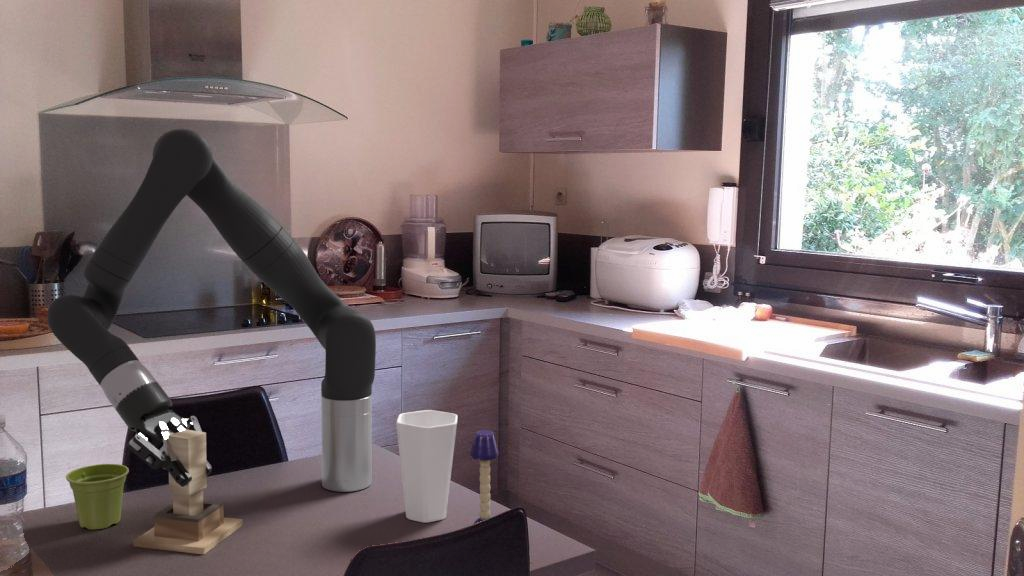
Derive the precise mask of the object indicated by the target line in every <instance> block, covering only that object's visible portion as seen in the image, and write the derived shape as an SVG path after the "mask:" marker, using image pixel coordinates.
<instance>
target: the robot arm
mask: <svg viewBox="0 0 1024 576" xmlns="http://www.w3.org/2000/svg"><path fill="white" fill-rule="evenodd" d="M186 196H187V197H188V198H189V199H190V200H191V201H192V202H193V203H194V204H196V205H197V206H198V207H199V209H201V210H202V212H204V214H205V216H207V218H209V220H210V222H211V223H212V224H213V226H214V227H215V229H216V231H218V233H219V234H220V236H221V237H222V238H223V239H224V241H225V242H226V243H227V245H228V246H229V247H230V249H232V251H233V252H234V253H235V254H236V256H237V257H238V259H239V260H241V261H242V263H244V265H245V266H246V267H247V268H248V269H249V270H250V271H251V272H252V273H253V274H254V275H255V276H256V277H257V278H258V279H259V280H260V281H261V282H262V283H263V284H265V286H266V287H268V288H269V289H270V290H271V291H272V292H273V293H274V294H276V295H277V296H278V297H280V299H282V300H283V301H285V302H286V303H287V304H288V305H289V306H290V307H291V308H293V310H294V311H295V312H296V313H297V314H298V316H299V317H300V318H301V319H302V320H303V322H304V323H305V324H306V326H307V327H308V328H309V329H310V331H311V332H312V333H313V336H315V338H316V339H317V341H318V342H319V343H320V345H321V346H322V347H323V349H324V350H325V366H324V367H325V370H324V371H325V372H324V377H323V379H322V381H321V383H320V384H321V388H320V391H321V393H320V394H321V395H320V397H321V398H320V400H321V401H320V402H321V406H320V408H321V409H320V410H321V487H323V488H324V489H326V490H329V491H333V492H341V493H342V492H344V493H345V492H356V491H360V490H364V489H366V488H368V487H370V486H371V485H372V481H373V480H372V464H373V463H372V459H373V457H372V455H373V454H372V453H373V452H372V451H373V450H372V447H373V445H372V444H373V443H372V442H373V441H372V440H373V439H372V433H373V432H372V427H373V425H372V422H373V420H372V419H373V417H372V416H373V415H372V413H373V411H372V409H373V408H372V406H373V405H372V404H373V402H372V400H373V399H372V397H373V396H372V394H373V393H372V391H373V390H372V389H373V388H372V387H373V384H374V382H375V381H374V380H375V376H376V354H377V352H376V351H377V349H376V347H377V344H376V342H377V339H376V338H377V337H376V331H375V328H374V325H373V323H372V321H371V320H370V318H368V317H367V316H366V315H365V314H362V313H361V312H359V311H357V310H356V309H354V308H352V307H351V306H349V305H348V304H347V303H346V302H345V301H343V299H341V297H339V296H338V295H337V294H336V293H335V292H334V291H333V290H332V289H330V287H329V286H328V285H327V284H326V283H325V282H324V281H323V279H322V278H321V277H320V276H319V274H318V272H317V270H316V268H315V267H314V265H313V264H312V263H311V260H310V259H309V258H308V256H307V255H306V253H305V251H304V250H303V248H301V246H300V245H299V243H298V242H297V241H296V240H295V239H294V238H293V237H292V235H291V234H290V233H289V232H288V231H287V230H286V229H285V227H284V226H282V224H281V223H280V222H279V221H278V220H277V219H276V218H275V217H274V216H273V215H272V214H270V213H269V212H268V211H267V209H265V208H264V207H263V206H261V204H260V203H258V202H257V201H256V200H254V199H253V198H252V197H251V196H250V195H249V194H247V193H246V192H245V191H244V190H243V189H242V188H241V187H239V186H238V185H237V184H236V183H235V181H233V179H232V178H231V177H230V176H229V175H228V173H227V172H226V171H225V169H224V168H223V167H222V165H221V164H220V163H219V162H218V160H217V158H216V157H215V155H214V154H213V152H212V148H211V145H210V144H209V142H208V141H207V140H206V138H204V136H203V135H201V134H200V133H198V132H196V131H194V130H193V129H192V130H191V129H188V128H187V129H186V128H176V129H171V130H168V131H166V132H164V133H163V134H162V135H160V136H159V137H158V138H157V141H156V142H155V143H154V146H153V150H152V159H151V162H150V165H149V167H148V169H147V171H146V174H145V176H144V178H143V181H142V182H141V184H140V187H139V188H138V190H137V191H136V193H135V195H134V196H133V198H132V199H131V201H130V202H129V204H128V205H127V207H126V208H125V209H124V210H123V212H122V213H121V214H120V216H119V217H118V218H117V219H116V221H115V222H114V223H113V224H112V226H111V227H110V229H109V230H108V231H107V233H105V236H104V237H103V239H102V240H101V242H100V243H99V244H98V247H97V248H96V249H95V251H94V252H93V254H92V256H91V257H90V259H89V260H88V262H87V263H86V265H85V266H84V270H83V276H84V279H85V281H87V282H88V284H87V285H86V289H85V291H84V294H83V295H82V296H81V295H75V294H65V295H64V294H63V295H61V296H58V297H57V298H55V299H54V300H53V301H52V302H51V303H50V305H49V306H48V309H47V314H46V320H47V323H48V326H49V329H50V331H51V333H53V335H54V336H55V338H56V339H57V340H58V341H59V342H60V343H61V344H62V345H63V346H64V347H65V348H66V349H67V350H68V351H69V352H70V353H71V354H72V355H73V356H75V357H76V358H77V359H78V360H79V361H80V362H82V363H83V364H84V365H85V366H86V368H87V369H88V371H89V373H90V374H91V375H92V377H93V378H94V379H95V381H96V382H97V384H98V386H100V388H101V389H102V391H103V394H104V395H105V397H106V399H107V401H109V403H110V404H111V406H112V407H113V408H114V410H115V411H116V413H117V414H118V415H119V417H120V418H121V419H122V421H123V422H124V424H125V425H126V426H127V428H128V430H130V431H132V432H135V435H134V436H133V437H132V439H130V440H129V442H128V443H127V444H126V448H127V449H128V450H130V451H131V453H133V454H134V455H136V456H137V457H138V458H139V459H140V460H142V461H143V462H144V463H145V464H147V466H149V467H150V468H151V469H152V470H154V471H156V470H158V469H163V470H166V471H168V474H169V473H170V474H171V476H172V477H173V478H174V480H175V481H176V482H177V483H178V484H180V486H181V487H184V486H186V485H187V484H188V483H189V482H190V481H191V480H192V476H191V475H190V474H189V473H188V471H187V470H186V469H185V467H184V466H183V465H182V463H181V462H180V461H179V460H178V461H176V460H177V456H176V454H175V453H174V452H173V450H172V445H171V443H170V442H169V440H168V436H169V435H172V434H174V433H177V432H180V431H183V430H186V429H187V430H193V431H199V432H203V431H202V428H201V425H200V423H199V420H198V418H197V416H195V415H190V417H188V418H182V417H181V416H180V415H178V414H177V413H176V412H175V411H174V409H173V401H172V400H171V398H170V397H169V396H168V394H167V392H166V391H165V390H164V388H163V387H162V386H161V385H160V384H159V382H158V381H157V379H156V378H155V377H154V375H153V374H152V372H151V371H150V370H149V369H148V368H147V367H146V366H145V365H144V364H143V363H142V362H141V360H140V359H139V358H138V357H137V356H136V354H135V353H134V351H133V350H132V348H131V347H130V346H129V345H128V344H127V343H126V341H125V340H124V339H122V338H121V337H119V336H117V335H114V334H113V333H111V332H110V331H109V329H110V328H111V326H112V324H113V323H114V321H115V319H116V317H117V314H118V311H119V308H120V306H121V304H122V303H121V302H122V300H123V296H124V292H125V289H126V288H127V286H128V285H129V283H130V281H131V280H132V279H133V276H135V274H136V272H137V270H138V269H139V268H140V266H141V265H142V262H143V261H144V259H146V256H147V254H148V252H149V251H150V250H151V248H152V246H153V244H154V242H155V241H156V239H157V238H158V235H159V234H160V232H161V230H162V228H163V227H164V226H165V224H166V223H167V221H168V219H169V218H170V216H171V215H172V214H173V212H174V211H175V209H176V208H177V207H178V206H179V204H180V203H181V202H182V200H183V199H184V198H185V197H186ZM206 445H207V442H206ZM152 456H153V457H152ZM154 458H155V459H154ZM212 472H213V468H212V464H210V463H209V461H208V460H207V459H206V475H207V477H208V476H209V475H210V474H211V473H212Z"/></svg>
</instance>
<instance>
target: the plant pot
mask: <svg viewBox="0 0 1024 576" xmlns="http://www.w3.org/2000/svg"><path fill="white" fill-rule="evenodd" d="M129 469H130V468H129V467H127V465H124V464H119V463H98V464H92V465H86V466H83V467H79V468H78V467H77V468H76V469H74V470H71V471H70V472H68V473H67V474H66V475H65V479H66V481H67V482H68V483H69V487H70V489H71V490H72V495H73V499H74V503H75V508H76V512H77V517H78V518H77V519H78V522H79V526H80V527H81V528H86V529H87V530H100V529H101V530H102V529H106V528H109V527H111V525H113V524H115V525H117V524H118V523H119V522H120V521H121V516H122V504H123V498H124V497H123V495H124V485H125V482H126V479H127V475H128V474H129V472H130V470H129Z"/></svg>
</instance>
